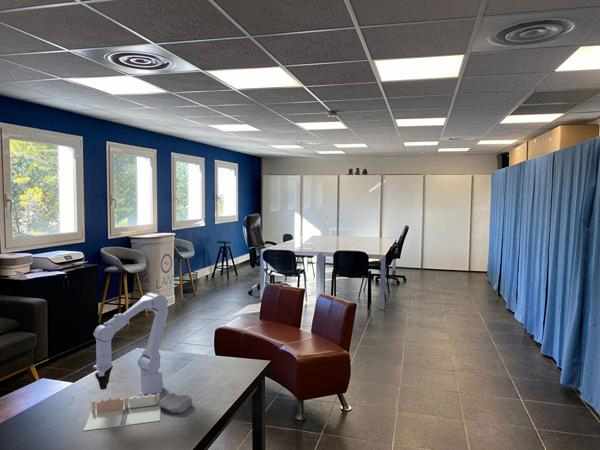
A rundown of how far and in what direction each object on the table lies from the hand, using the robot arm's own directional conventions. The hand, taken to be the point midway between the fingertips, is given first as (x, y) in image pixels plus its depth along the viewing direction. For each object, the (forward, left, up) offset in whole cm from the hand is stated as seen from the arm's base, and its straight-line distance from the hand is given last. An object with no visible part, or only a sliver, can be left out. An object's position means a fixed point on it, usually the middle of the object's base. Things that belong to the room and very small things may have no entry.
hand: (104, 386), depth 177 cm
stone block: (-28, +9, -8) cm, 31 cm away
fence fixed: (-15, +5, -8) cm, 18 cm away
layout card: (-9, +10, -8) cm, 16 cm away
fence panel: (-2, +5, -8) cm, 10 cm away
